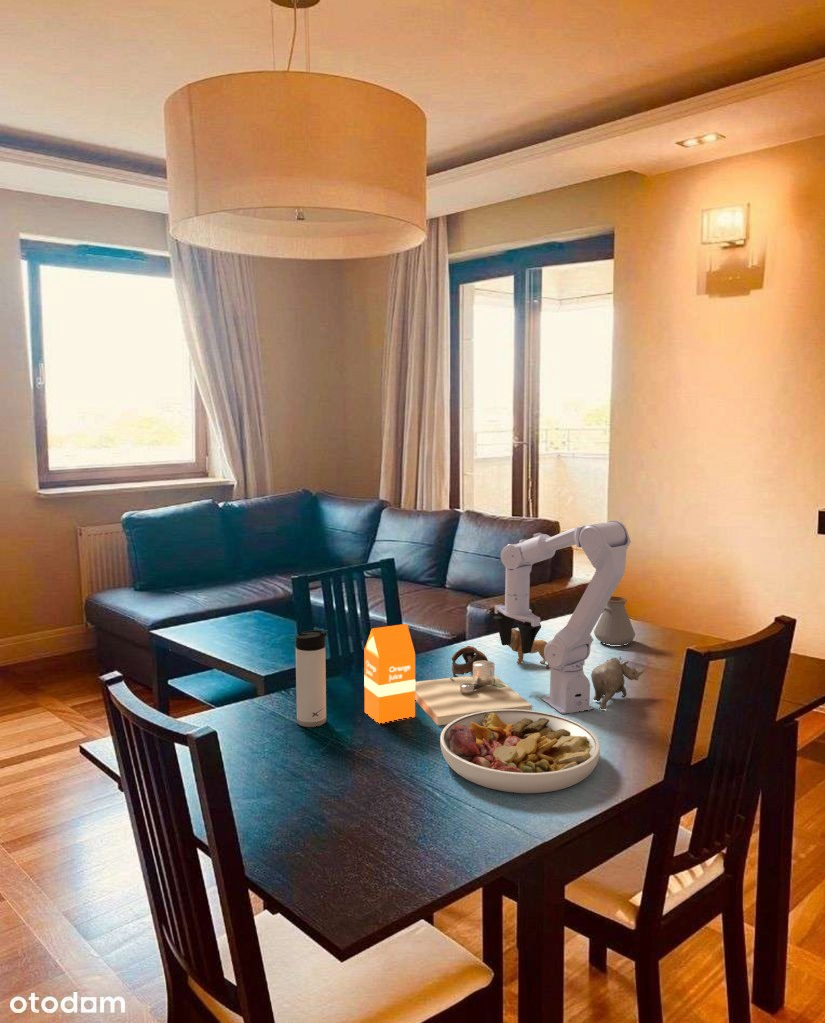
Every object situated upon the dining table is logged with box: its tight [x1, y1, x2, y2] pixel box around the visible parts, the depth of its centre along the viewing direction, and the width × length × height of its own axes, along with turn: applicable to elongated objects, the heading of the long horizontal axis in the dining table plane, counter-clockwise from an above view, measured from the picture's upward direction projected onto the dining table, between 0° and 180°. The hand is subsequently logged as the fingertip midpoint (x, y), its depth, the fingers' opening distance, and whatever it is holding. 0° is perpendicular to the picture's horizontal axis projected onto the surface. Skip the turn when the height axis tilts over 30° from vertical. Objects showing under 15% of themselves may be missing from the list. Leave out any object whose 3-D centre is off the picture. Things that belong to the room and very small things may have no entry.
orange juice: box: [363, 623, 416, 725], centre depth 177 cm, size 8×9×20 cm
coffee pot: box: [593, 595, 636, 645], centre depth 227 cm, size 21×12×15 cm, turn 137°
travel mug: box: [295, 629, 328, 728], centre depth 172 cm, size 6×7×20 cm
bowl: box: [439, 709, 601, 794], centre depth 154 cm, size 30×30×8 cm
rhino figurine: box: [590, 656, 646, 709], centre depth 187 cm, size 8×14×15 cm
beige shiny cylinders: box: [460, 660, 495, 694], centre depth 187 cm, size 11×5×5 cm, turn 132°
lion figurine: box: [507, 628, 551, 669], centre depth 212 cm, size 15×5×9 cm, turn 70°
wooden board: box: [415, 674, 533, 726], centre depth 186 cm, size 22×22×2 cm
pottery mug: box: [451, 645, 489, 677], centre depth 205 cm, size 12×10×8 cm
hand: (516, 648), depth 195 cm, fingers open, 7 cm apart
